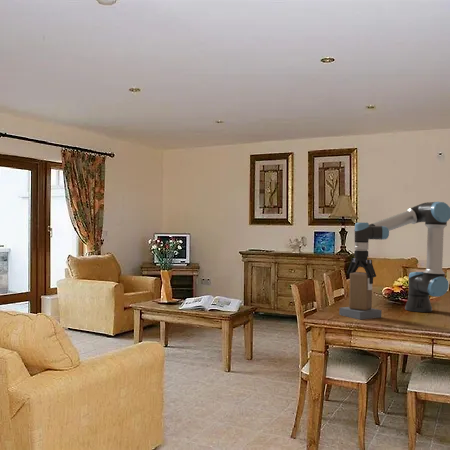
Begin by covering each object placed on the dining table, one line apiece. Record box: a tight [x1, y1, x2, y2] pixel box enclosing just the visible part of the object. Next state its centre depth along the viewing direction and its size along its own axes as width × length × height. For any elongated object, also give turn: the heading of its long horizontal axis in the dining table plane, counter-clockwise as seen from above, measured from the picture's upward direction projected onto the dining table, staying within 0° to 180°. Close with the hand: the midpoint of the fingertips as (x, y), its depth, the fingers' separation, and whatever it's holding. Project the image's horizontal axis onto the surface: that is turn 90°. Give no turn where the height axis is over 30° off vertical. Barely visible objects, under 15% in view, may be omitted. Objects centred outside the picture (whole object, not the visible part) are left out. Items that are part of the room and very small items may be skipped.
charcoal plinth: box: [338, 306, 383, 321], centre depth 290 cm, size 16×16×4 cm
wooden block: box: [348, 271, 373, 311], centre depth 290 cm, size 10×10×20 cm
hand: (360, 288), depth 290 cm, fingers open, 13 cm apart
